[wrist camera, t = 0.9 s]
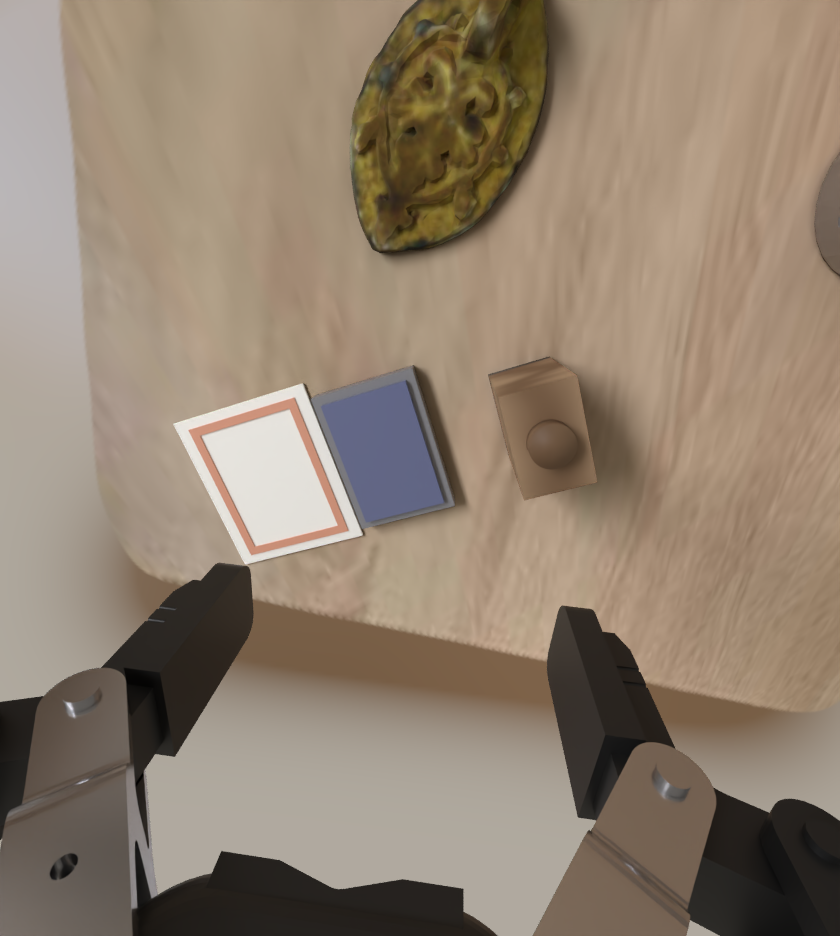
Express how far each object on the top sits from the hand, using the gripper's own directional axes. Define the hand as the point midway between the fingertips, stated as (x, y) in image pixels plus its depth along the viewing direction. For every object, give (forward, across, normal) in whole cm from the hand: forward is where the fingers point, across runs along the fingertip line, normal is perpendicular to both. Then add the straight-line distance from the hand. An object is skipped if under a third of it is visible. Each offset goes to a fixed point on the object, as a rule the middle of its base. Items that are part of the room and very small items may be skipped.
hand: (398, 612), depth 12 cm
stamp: (+21, -6, -1) cm, 22 cm away
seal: (+21, +1, -16) cm, 27 cm away
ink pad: (+21, +3, +3) cm, 21 cm away
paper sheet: (+20, +12, +6) cm, 24 cm away
